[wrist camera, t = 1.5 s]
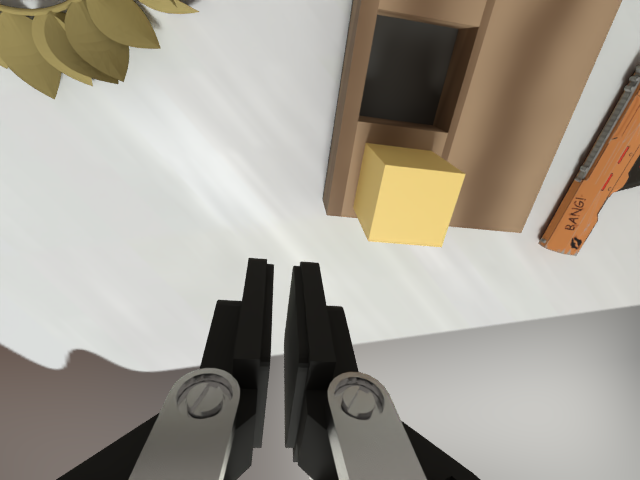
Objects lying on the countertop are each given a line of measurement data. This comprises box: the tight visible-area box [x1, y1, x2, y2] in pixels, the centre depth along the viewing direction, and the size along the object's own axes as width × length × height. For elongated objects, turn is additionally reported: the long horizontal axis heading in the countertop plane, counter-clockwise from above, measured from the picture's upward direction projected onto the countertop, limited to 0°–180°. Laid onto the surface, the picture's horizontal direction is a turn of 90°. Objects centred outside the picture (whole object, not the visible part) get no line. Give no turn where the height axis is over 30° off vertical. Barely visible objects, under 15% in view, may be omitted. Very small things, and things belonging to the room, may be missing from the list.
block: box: [353, 143, 466, 247], centre depth 22 cm, size 4×4×5 cm
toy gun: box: [539, 65, 640, 256], centre depth 29 cm, size 15×2×10 cm
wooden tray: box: [323, 0, 622, 233], centre depth 22 cm, size 15×23×5 cm, turn 172°
